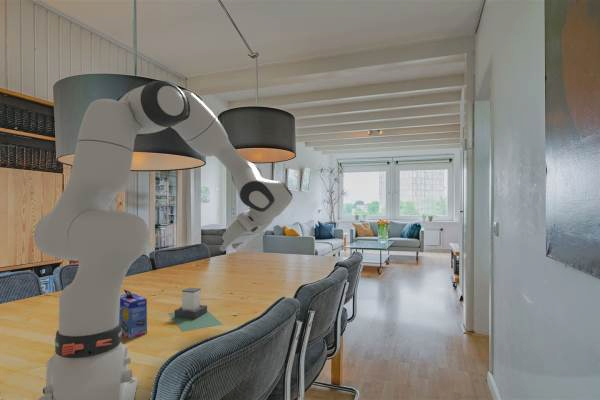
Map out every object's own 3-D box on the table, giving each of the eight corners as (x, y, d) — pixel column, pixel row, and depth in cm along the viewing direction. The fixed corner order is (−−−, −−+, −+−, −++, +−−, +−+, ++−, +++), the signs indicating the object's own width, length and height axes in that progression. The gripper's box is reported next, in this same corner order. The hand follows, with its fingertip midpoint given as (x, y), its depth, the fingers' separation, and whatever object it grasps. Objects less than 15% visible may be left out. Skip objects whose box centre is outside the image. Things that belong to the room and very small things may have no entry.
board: (222, 329, 113) (223, 316, 113) (181, 336, 107) (182, 323, 107) (204, 311, 131) (204, 301, 131) (168, 317, 125) (168, 306, 125)
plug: (200, 313, 124) (200, 288, 125) (193, 317, 120) (193, 291, 120) (188, 312, 126) (189, 287, 126) (181, 316, 121) (182, 290, 121)
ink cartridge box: (114, 335, 107) (115, 288, 107) (132, 330, 111) (133, 285, 111) (129, 344, 100) (130, 293, 101) (147, 338, 105) (148, 290, 105)
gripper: (259, 214, 129) (234, 239, 131) (236, 213, 109) (207, 244, 111) (270, 226, 128) (245, 252, 129) (249, 228, 108) (220, 258, 110)
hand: (227, 248), depth 120 cm, fingers open, 8 cm apart
